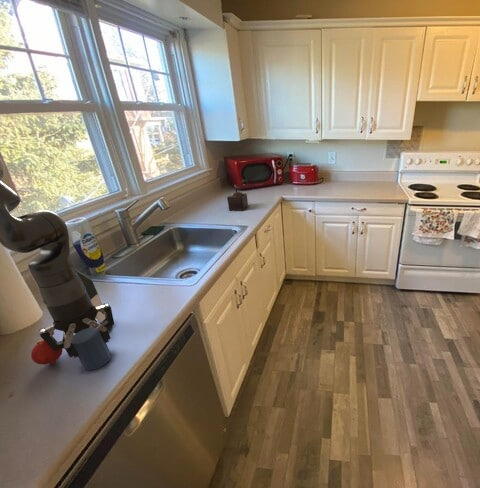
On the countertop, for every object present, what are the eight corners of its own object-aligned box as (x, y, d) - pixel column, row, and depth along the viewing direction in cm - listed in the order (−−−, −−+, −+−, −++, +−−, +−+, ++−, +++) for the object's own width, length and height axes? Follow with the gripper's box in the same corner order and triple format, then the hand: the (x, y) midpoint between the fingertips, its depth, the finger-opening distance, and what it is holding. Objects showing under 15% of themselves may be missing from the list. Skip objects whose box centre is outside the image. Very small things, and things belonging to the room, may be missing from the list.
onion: (44, 357, 76) (31, 335, 73) (70, 351, 78) (58, 329, 75) (34, 374, 71) (19, 351, 68) (62, 367, 73) (49, 344, 70)
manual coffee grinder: (244, 211, 187) (241, 184, 179) (228, 210, 187) (224, 184, 179) (251, 204, 201) (248, 178, 193) (236, 203, 201) (233, 178, 193)
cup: (79, 372, 71) (65, 346, 68) (88, 355, 77) (76, 330, 73) (107, 366, 73) (94, 340, 69) (114, 349, 78) (103, 324, 74)
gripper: (98, 277, 73) (118, 327, 80) (21, 303, 63) (52, 357, 70) (106, 288, 68) (127, 339, 76) (25, 317, 59) (58, 373, 66)
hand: (91, 347), depth 73 cm, fingers closed on cup, 6 cm apart
